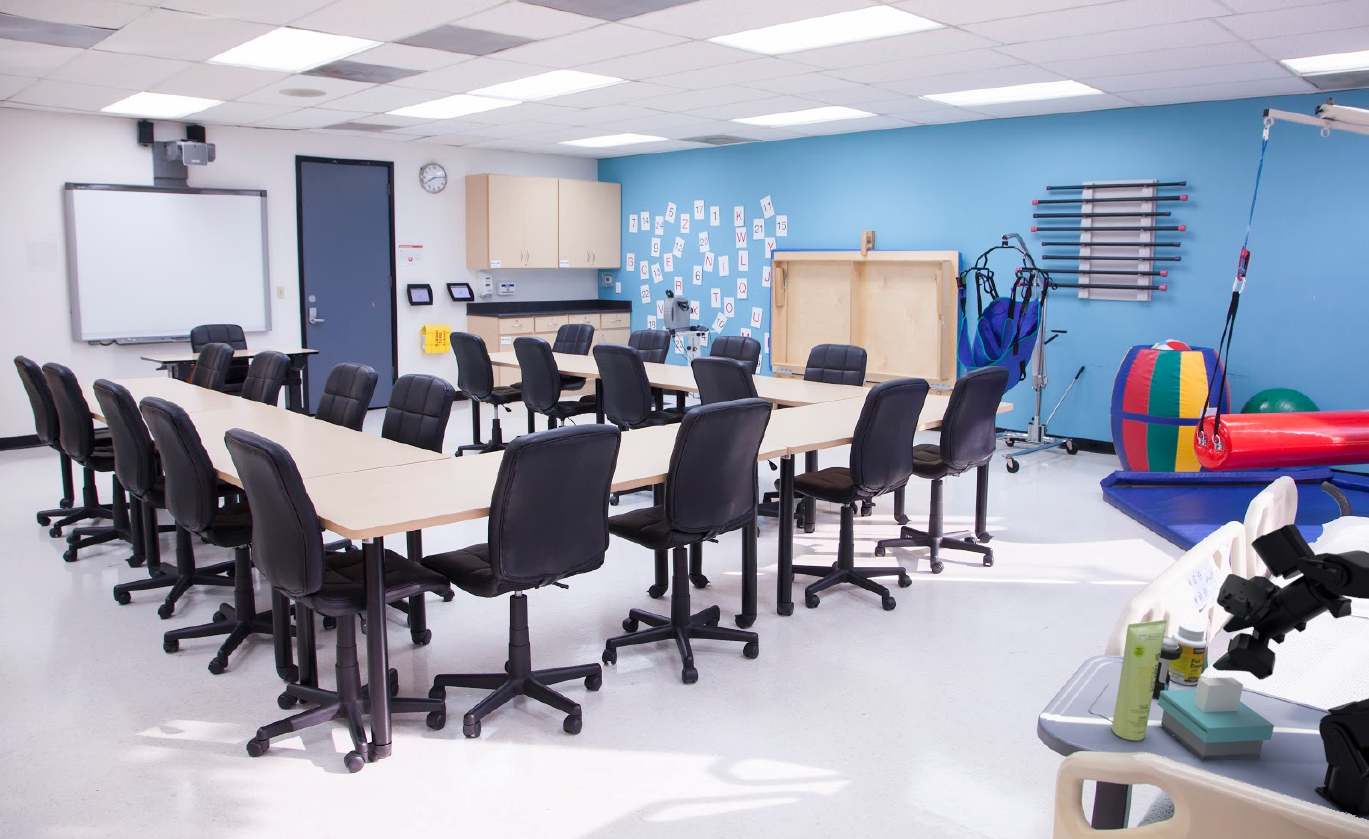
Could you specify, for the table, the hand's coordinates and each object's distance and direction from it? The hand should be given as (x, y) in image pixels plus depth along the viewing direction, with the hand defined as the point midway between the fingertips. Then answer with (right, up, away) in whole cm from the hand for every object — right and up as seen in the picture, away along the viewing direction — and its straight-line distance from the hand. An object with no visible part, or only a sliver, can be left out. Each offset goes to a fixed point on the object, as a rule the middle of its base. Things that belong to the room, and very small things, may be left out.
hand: (1220, 648), depth 159 cm
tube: (-16, -13, -1) cm, 21 cm away
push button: (-4, -11, +13) cm, 18 cm away
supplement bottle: (+3, -10, +19) cm, 21 cm away
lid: (-3, -11, -3) cm, 12 cm away
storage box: (-3, -14, -2) cm, 15 cm away
